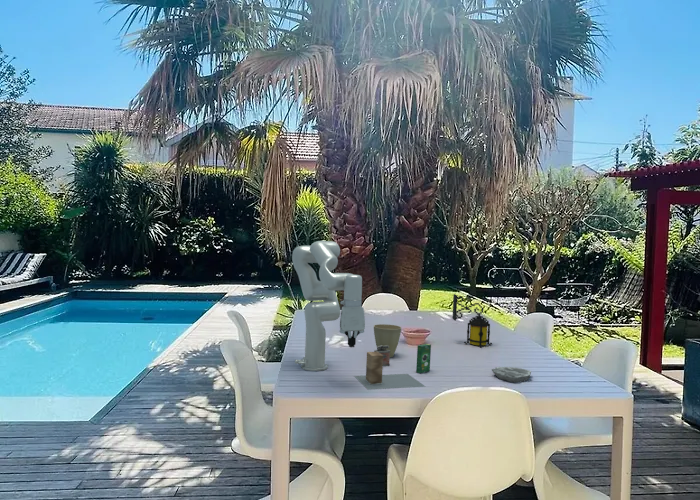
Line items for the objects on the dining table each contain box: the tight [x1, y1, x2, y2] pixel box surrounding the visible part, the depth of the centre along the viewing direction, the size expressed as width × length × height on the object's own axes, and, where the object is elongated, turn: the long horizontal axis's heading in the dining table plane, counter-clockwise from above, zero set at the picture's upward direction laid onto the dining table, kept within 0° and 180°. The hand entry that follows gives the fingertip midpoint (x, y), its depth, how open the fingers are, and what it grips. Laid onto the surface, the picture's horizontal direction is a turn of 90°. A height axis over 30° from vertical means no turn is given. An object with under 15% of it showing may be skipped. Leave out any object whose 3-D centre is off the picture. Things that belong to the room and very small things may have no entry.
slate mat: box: [353, 373, 426, 391], centre depth 225 cm, size 26×20×1 cm
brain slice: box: [491, 366, 532, 383], centre depth 242 cm, size 20×17×3 cm
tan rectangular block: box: [365, 351, 384, 384], centre depth 223 cm, size 5×7×12 cm
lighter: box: [373, 345, 391, 367], centre depth 255 cm, size 8×3×10 cm, turn 105°
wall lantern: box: [452, 293, 493, 349], centre depth 312 cm, size 17×24×30 cm
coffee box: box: [415, 343, 432, 374], centre depth 246 cm, size 8×3×13 cm, turn 137°
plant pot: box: [373, 323, 402, 359], centre depth 274 cm, size 15×15×16 cm
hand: (351, 346), depth 219 cm, fingers closed
